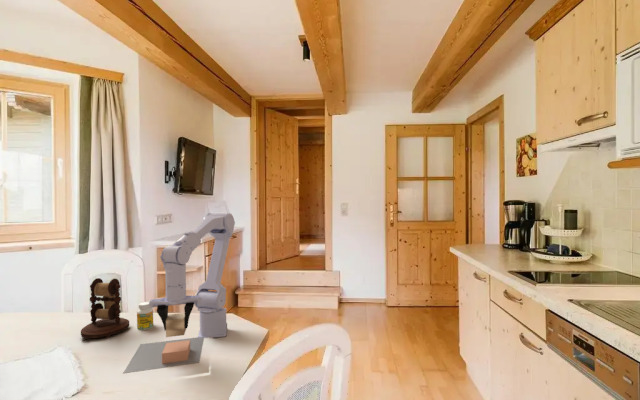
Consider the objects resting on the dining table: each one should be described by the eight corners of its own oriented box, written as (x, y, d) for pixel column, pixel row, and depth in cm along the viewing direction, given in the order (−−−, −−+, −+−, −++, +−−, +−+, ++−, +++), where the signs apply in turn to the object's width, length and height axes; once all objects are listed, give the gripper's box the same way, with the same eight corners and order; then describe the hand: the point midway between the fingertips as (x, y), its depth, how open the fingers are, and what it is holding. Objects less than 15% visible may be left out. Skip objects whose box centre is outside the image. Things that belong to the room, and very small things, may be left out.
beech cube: (186, 328, 101) (186, 312, 101) (184, 335, 96) (183, 318, 96) (169, 330, 100) (168, 314, 100) (166, 337, 95) (165, 320, 95)
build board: (203, 338, 112) (203, 328, 111) (199, 364, 94) (199, 352, 94) (140, 345, 106) (140, 335, 106) (122, 375, 89) (122, 362, 89)
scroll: (138, 325, 123) (137, 274, 123) (109, 343, 108) (108, 284, 108) (103, 324, 125) (102, 273, 124) (69, 341, 110) (68, 283, 110)
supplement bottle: (152, 324, 124) (152, 300, 124) (154, 329, 119) (153, 304, 119) (136, 327, 121) (136, 302, 121) (137, 332, 116) (137, 306, 116)
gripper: (146, 290, 92) (147, 336, 92) (199, 285, 96) (200, 330, 96) (152, 283, 99) (152, 326, 99) (201, 279, 103) (202, 321, 103)
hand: (176, 328), depth 98 cm, fingers closed on beech cube, 5 cm apart
